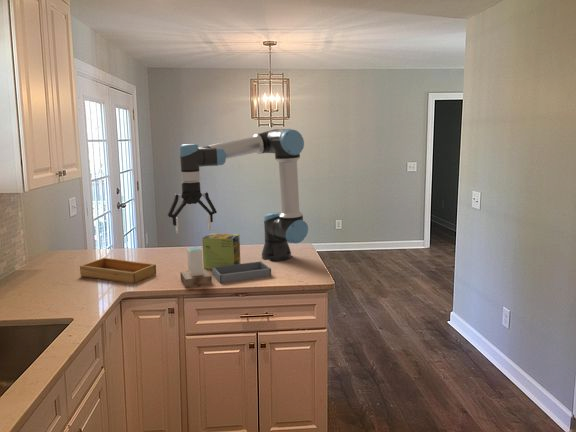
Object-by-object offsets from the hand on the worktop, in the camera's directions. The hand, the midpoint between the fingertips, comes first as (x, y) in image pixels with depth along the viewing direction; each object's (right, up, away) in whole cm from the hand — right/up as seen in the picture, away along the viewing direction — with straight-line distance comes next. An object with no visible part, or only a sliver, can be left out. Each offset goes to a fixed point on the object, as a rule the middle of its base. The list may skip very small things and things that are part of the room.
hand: (193, 231), depth 205 cm
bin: (+19, -21, +12) cm, 30 cm away
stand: (0, -22, +4) cm, 23 cm away
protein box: (+9, -18, +27) cm, 34 cm away
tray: (-37, -21, +17) cm, 46 cm away
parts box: (0, -18, +3) cm, 19 cm away
